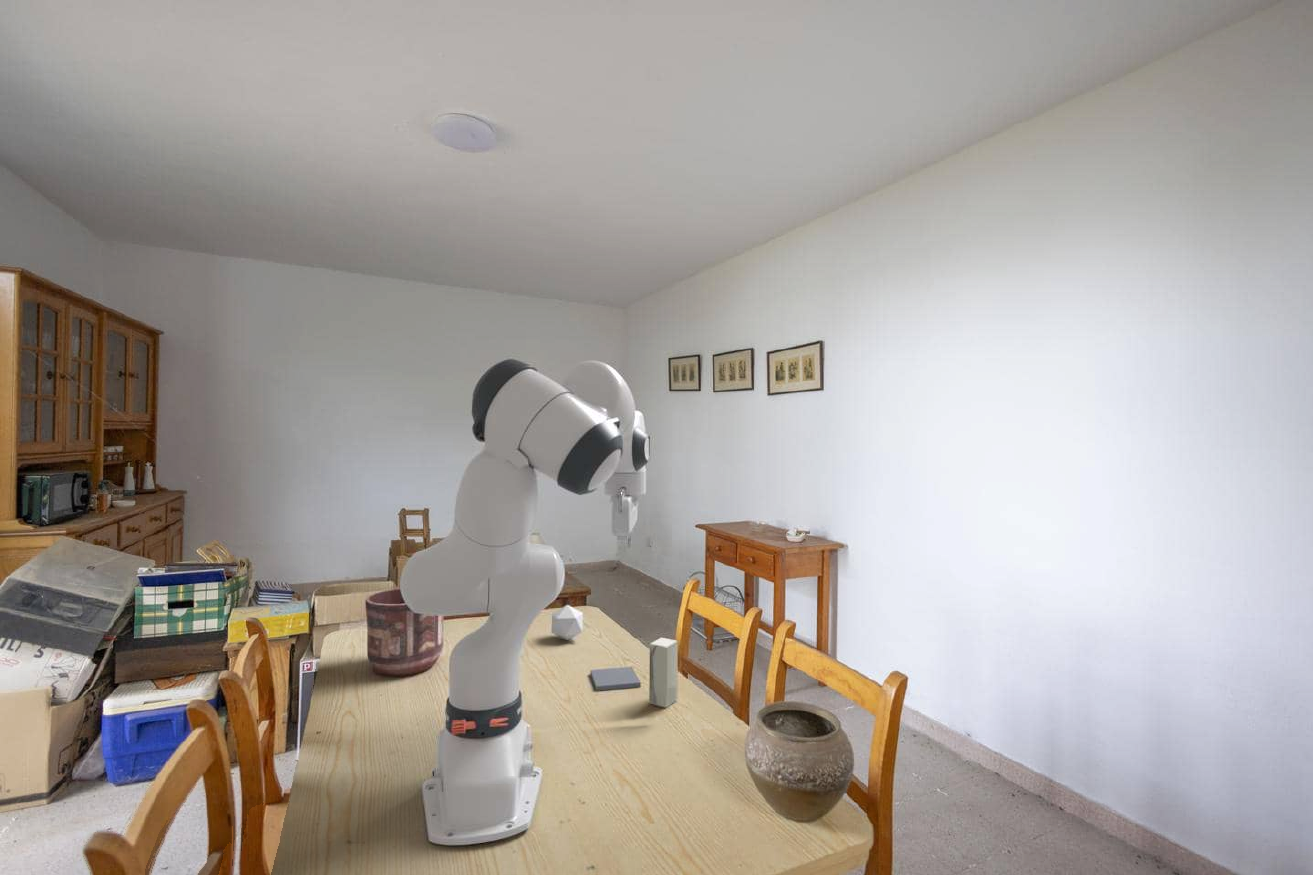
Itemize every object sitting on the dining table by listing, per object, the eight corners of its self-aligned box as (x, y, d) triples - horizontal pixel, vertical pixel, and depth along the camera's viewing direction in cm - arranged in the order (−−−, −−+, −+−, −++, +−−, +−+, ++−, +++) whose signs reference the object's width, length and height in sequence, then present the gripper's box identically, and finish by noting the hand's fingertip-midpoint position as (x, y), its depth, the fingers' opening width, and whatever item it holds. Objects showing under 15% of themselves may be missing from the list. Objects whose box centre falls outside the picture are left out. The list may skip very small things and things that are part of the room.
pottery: (419, 686, 136) (420, 606, 137) (348, 681, 139) (349, 602, 139) (457, 659, 154) (458, 587, 154) (394, 654, 157) (394, 584, 157)
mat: (640, 686, 137) (640, 682, 137) (596, 690, 135) (596, 686, 135) (631, 670, 147) (631, 666, 147) (590, 674, 144) (590, 669, 144)
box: (660, 695, 132) (661, 636, 133) (678, 700, 130) (678, 639, 130) (648, 704, 128) (648, 643, 128) (666, 709, 126) (666, 646, 126)
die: (571, 633, 175) (572, 599, 175) (588, 641, 168) (589, 605, 168) (545, 639, 170) (545, 603, 170) (562, 648, 163) (562, 610, 163)
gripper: (636, 490, 119) (636, 560, 119) (642, 482, 139) (642, 543, 139) (604, 489, 119) (604, 560, 119) (615, 482, 140) (615, 542, 139)
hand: (624, 550), depth 129 cm, fingers open, 8 cm apart
